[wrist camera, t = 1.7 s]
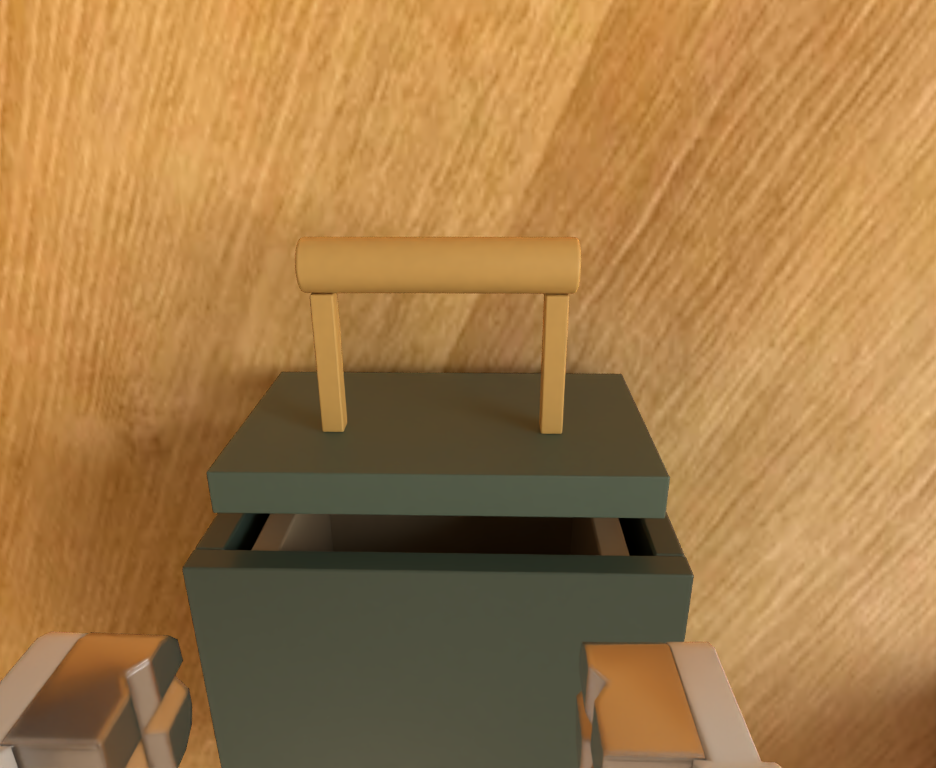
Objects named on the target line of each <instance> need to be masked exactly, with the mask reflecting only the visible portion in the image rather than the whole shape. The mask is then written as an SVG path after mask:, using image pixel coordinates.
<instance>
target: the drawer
mask: <svg viewBox="0 0 936 768" xmlns="http://www.w3.org/2000/svg"><path fill="white" fill-rule="evenodd" d="M295 271H296V278H297V282H298V285H299V287H300V289H301V291H303V292H305V293H312V294H311V295H310V305H311V315H312V326H313V336H314V347H315V358H316V368H317V372H281V374H280V375H279V376H278V378H277V379H276V380H275V382H274V383H273V384H272V386H271V387H270V388H269V390H268V391H267V392H266V394H265V395H264V396H263V398H262V399H261V400H260V402H259V403H258V404H257V406H256V407H255V408H254V410H253V411H252V412H251V414H250V415H249V416H248V418H247V419H246V420H245V422H244V423H243V424H242V426H241V427H240V428H239V430H238V431H237V432H236V434H235V435H234V436H233V438H232V439H231V440H230V442H229V443H228V444H227V446H226V447H225V448H224V450H223V451H222V452H221V454H220V455H219V456H218V458H217V459H216V460H215V462H214V463H213V464H212V466H211V467H210V468H209V470H208V471H207V479H208V485H209V491H210V497H211V503H212V509H213V512H214V513H269V514H270V515H269V517H268V519H267V521H266V523H265V525H264V527H263V528H262V530H261V532H260V534H259V536H258V538H257V540H256V542H255V544H254V546H253V548H252V549H251V550H263V551H334V552H405V553H475V554H546V555H617V556H630V555H629V552H628V548H627V545H626V542H625V538H624V535H623V532H622V528H621V525H620V522H619V518H665V514H666V505H667V497H668V489H669V481H670V477H669V475H668V473H667V471H666V468H665V466H664V464H663V462H662V460H661V458H660V456H659V453H658V451H657V449H656V447H655V445H654V443H653V441H652V438H651V436H650V434H649V432H648V430H647V428H646V425H645V423H644V421H643V419H642V417H641V415H640V413H639V410H638V408H637V406H636V404H635V402H634V400H633V398H632V395H631V393H630V391H629V389H628V387H627V385H626V382H625V380H624V378H623V376H622V374H565V371H566V352H567V332H568V313H569V295H568V294H574V293H576V292H577V290H578V288H579V283H580V274H581V248H580V242H579V240H578V238H576V237H302V238H300V239H299V241H298V243H297V247H296V253H295ZM337 293H530V294H544V309H543V335H542V362H541V373H391V372H343V360H342V348H341V335H340V322H339V310H338V297H337Z"/></svg>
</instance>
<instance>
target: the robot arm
mask: <svg viewBox="0 0 936 768" xmlns="http://www.w3.org/2000/svg"><path fill="white" fill-rule="evenodd" d="M182 661H183V659H182V655H181V651H180V647H179V643H178V640H177V639H175V638H173V637H171V636H167V635H142V634H118V633H94V632H91V633H70V632H49V633H47V634H45V635H43V636H41V637H39V638H37V639H36V640H35V641H34V642H33V644H32V645H31V646H30V647H29V648H28V650H27V651H26V652H25V653H24V654H23V655H22V657H21V658H20V659H19V660H18V661H17V663H16V664H15V665H14V666H13V667H12V669H11V670H10V671H9V672H8V673H7V675H6V676H5V677H4V678H3V679H2V681H1V682H0V768H178V767H179V764H180V762H181V760H182V758H183V755H184V753H185V751H186V747H187V743H188V739H189V734H190V730H191V725H192V702H191V697H190V691H189V688H188V687H187V686H186V685H185V684H183V683H182V682H181V681H180V680H179V679H178V678H177V677H176V676H175V675H176V673H177V671H178V669H179V667H180V665H181V663H182ZM578 668H579V675H580V682H581V688H582V691H581V692H580V693H579V694H578V695H577V696H576V750H577V761H578V768H782V767H781V766H779V765H778V764H777V763H776V762H762V761H761V759H760V757H759V754H758V752H757V749H756V747H755V744H754V742H753V740H752V737H751V735H750V732H749V730H748V727H747V725H746V723H745V720H744V718H743V715H742V713H741V710H740V708H739V706H738V703H737V701H736V698H735V696H734V694H733V691H732V689H731V686H730V684H729V681H728V679H727V677H726V674H725V672H724V669H723V667H722V664H721V662H720V660H719V657H718V655H717V652H716V650H715V648H714V647H713V646H712V645H711V644H710V643H709V642H666V643H663V642H582V643H581V648H580V654H579V667H578Z"/></svg>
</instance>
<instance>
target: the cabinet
mask: <svg viewBox="0 0 936 768" xmlns="http://www.w3.org/2000/svg"><path fill="white" fill-rule="evenodd" d="M269 515H270V514H269V513H218V514H217V516H216V517H215V519H214V520H213V522H212V523H211V525H210V526H209V528H208V529H207V531H206V533H205V534H204V536H203V537H202V539H201V540H200V542H199V543H198V545H197V546H196V549H195V550H194V551H193V552H192V554H191V555H190V557H189V558H188V560H187V561H186V563H185V565H184V566H183V568H182V570H183V575H184V580H185V585H186V590H187V595H188V600H189V605H190V610H191V615H192V620H193V626H194V631H195V636H196V641H197V646H198V651H199V656H200V661H201V666H202V671H203V676H204V681H205V687H206V692H207V697H208V702H209V707H210V712H211V717H212V722H213V727H214V732H215V737H216V742H217V747H218V753H219V758H220V763H221V768H578V761H577V750H576V696H577V695H578V694H579V693H580V692H581V691H582V688H581V682H580V675H579V668H578V667H579V654H580V648H581V643H582V642H663V643H666V642H684V639H685V633H686V626H687V619H688V612H689V605H690V598H691V591H692V584H693V578H694V575H693V573H692V571H691V568H690V566H689V563H688V561H687V559H686V557H685V556H684V553H683V551H682V548H681V546H680V544H679V541H678V539H677V536H676V534H675V532H674V529H673V527H672V524H671V522H670V520H669V517H668V515H667V512H666V514H665V518H619V522H620V525H621V528H622V532H623V535H624V538H625V542H626V545H627V548H628V552H629V555H630V556H617V555H546V554H475V553H405V552H334V551H263V550H251V549H252V548H253V546H254V544H255V542H256V540H257V538H258V536H259V534H260V532H261V530H262V528H263V527H264V525H265V523H266V521H267V519H268V517H269Z"/></svg>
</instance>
